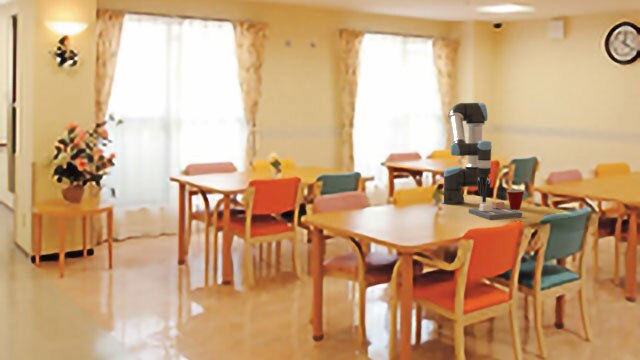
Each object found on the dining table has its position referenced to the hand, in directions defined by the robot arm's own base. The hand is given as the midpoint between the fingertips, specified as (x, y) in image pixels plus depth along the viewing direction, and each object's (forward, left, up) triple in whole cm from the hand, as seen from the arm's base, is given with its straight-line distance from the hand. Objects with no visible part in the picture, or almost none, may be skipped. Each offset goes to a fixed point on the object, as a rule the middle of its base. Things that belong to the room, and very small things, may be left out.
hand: (483, 207), depth 381 cm
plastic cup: (-9, +28, -5) cm, 30 cm away
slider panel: (+3, +6, -5) cm, 8 cm away
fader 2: (-3, +12, -2) cm, 13 cm away
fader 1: (+3, 0, -2) cm, 3 cm away
